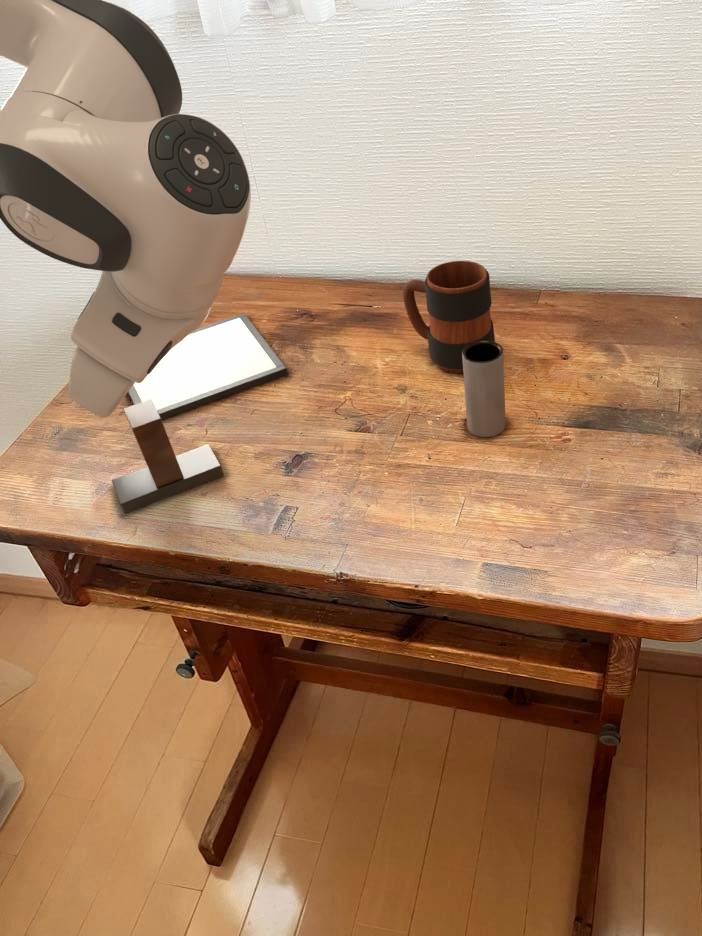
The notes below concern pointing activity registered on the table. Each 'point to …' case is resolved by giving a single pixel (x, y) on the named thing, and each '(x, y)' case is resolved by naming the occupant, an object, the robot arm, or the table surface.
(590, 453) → the table surface
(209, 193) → the robot arm
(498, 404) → the planter
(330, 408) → the table surface
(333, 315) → the table surface
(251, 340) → the board
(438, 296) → the mug
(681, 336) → the table surface
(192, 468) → the t-shaped stand
